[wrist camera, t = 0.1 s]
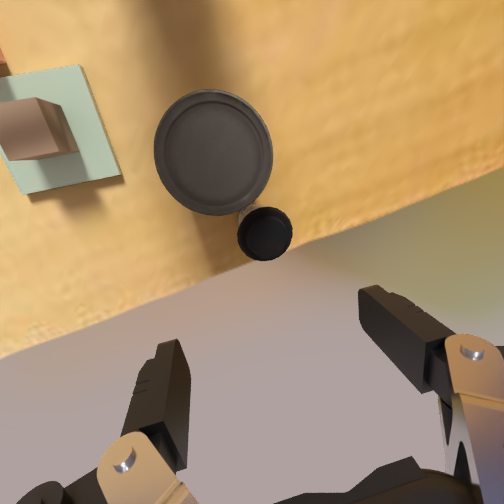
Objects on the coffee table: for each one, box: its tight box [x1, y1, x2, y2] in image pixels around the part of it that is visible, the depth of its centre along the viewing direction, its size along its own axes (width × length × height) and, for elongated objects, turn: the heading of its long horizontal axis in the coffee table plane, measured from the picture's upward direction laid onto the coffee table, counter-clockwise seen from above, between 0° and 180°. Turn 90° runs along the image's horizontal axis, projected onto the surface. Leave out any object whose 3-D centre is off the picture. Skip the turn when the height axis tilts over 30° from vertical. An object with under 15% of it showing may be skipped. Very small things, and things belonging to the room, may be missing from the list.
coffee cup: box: [237, 204, 292, 261], centre depth 35 cm, size 7×7×10 cm
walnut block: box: [0, 97, 80, 161], centre depth 28 cm, size 5×5×5 cm
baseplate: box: [0, 64, 122, 195], centre depth 31 cm, size 12×12×1 cm
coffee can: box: [154, 89, 273, 216], centre depth 29 cm, size 10×10×14 cm
